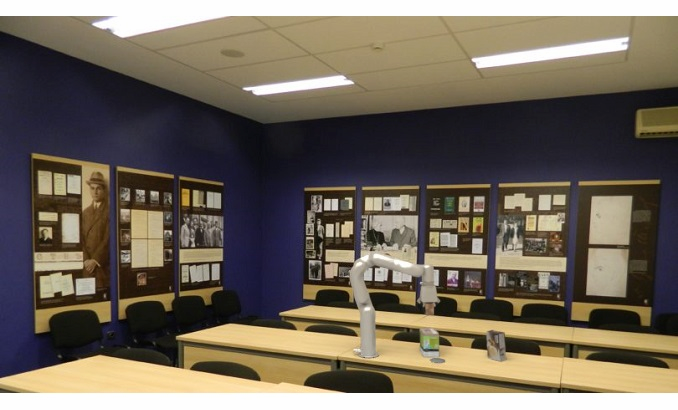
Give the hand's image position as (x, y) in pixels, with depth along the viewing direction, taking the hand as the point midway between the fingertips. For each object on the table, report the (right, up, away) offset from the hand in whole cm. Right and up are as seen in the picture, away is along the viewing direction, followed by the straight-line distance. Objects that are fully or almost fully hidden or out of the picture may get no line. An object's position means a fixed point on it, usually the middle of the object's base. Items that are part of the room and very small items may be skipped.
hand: (429, 312), depth 277 cm
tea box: (0, -26, -1) cm, 26 cm away
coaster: (+2, -25, -16) cm, 30 cm away
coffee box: (+38, -25, -14) cm, 47 cm away
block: (0, -1, 0) cm, 1 cm away
